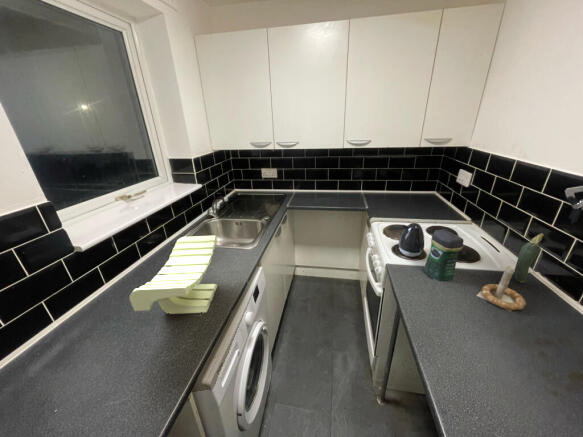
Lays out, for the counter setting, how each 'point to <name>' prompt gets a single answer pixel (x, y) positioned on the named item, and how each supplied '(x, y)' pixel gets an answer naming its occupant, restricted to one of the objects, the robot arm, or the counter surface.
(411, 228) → the black egg shaped dome
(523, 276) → the vegetable
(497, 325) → the counter surface
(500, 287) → the post
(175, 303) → the slatted lounge chair
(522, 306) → the ring
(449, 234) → the coffee jar
